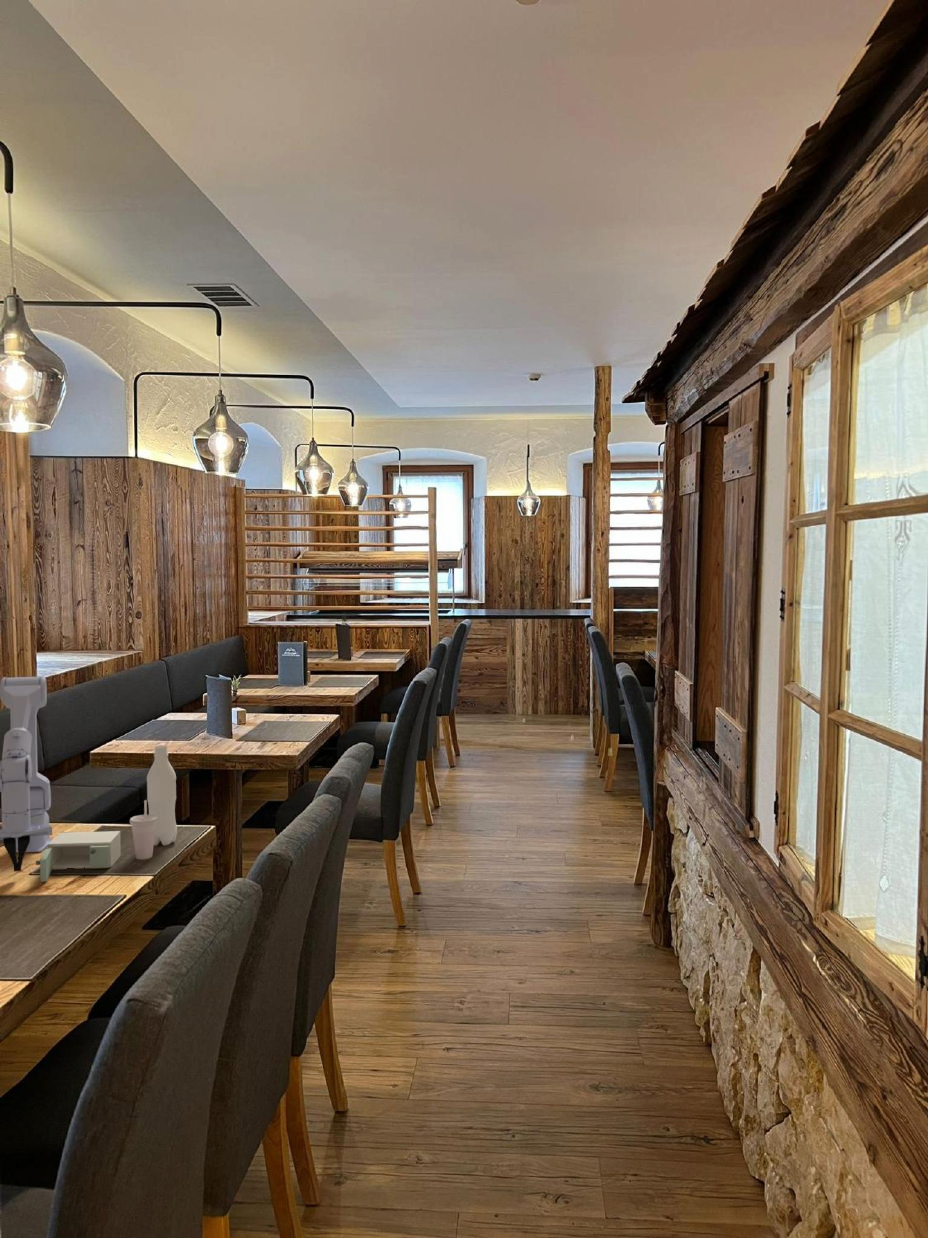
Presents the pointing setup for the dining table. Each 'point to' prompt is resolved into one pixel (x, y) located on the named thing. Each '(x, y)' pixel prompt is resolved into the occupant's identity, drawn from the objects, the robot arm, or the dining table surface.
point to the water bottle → (162, 796)
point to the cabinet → (85, 849)
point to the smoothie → (143, 833)
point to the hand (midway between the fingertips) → (17, 870)
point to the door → (45, 864)
